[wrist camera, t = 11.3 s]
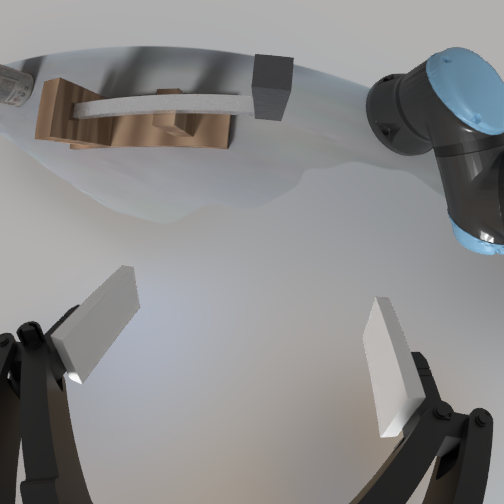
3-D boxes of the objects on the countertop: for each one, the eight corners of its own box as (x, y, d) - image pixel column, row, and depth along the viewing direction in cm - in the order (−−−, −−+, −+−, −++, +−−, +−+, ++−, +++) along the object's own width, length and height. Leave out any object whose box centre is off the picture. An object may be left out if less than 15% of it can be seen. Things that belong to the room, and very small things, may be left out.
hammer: (282, 99, 31) (293, 57, 19) (280, 122, 32) (291, 90, 20) (83, 103, 32) (23, 83, 19) (80, 123, 32) (18, 109, 20)
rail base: (232, 103, 44) (215, 59, 25) (228, 149, 45) (206, 129, 27) (80, 109, 44) (15, 91, 25) (75, 149, 46) (7, 144, 27)
